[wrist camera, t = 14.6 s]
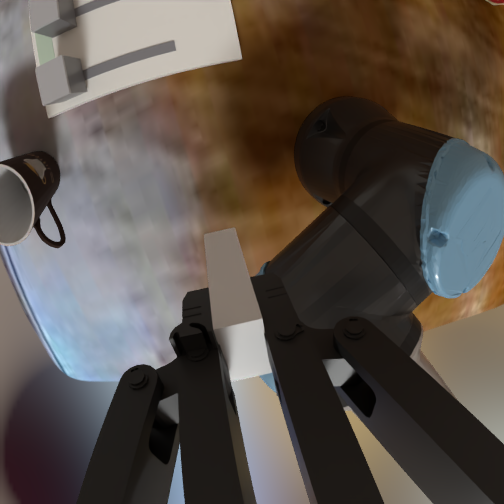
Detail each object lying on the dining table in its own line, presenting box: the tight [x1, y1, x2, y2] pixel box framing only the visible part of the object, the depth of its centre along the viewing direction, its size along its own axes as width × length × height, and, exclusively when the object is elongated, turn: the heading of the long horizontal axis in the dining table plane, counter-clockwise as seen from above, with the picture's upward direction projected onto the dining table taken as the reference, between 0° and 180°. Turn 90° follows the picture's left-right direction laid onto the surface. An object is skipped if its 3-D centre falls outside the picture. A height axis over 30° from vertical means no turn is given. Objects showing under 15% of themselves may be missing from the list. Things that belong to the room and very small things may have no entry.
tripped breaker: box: [28, 0, 77, 38], centre depth 17 cm, size 3×4×5 cm
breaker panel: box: [29, 0, 242, 118], centre depth 24 cm, size 22×14×2 cm, turn 100°
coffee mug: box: [0, 151, 66, 248], centre depth 27 cm, size 12×9×10 cm
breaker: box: [35, 55, 87, 106], centre depth 22 cm, size 3×4×5 cm
